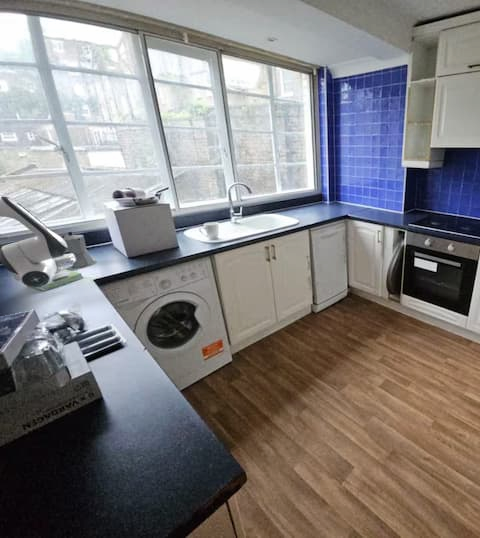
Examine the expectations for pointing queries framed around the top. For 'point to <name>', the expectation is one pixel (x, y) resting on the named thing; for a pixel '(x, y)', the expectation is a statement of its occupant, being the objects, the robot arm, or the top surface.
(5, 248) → the robot arm
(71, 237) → the coffeepot
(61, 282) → the scale
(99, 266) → the top surface
